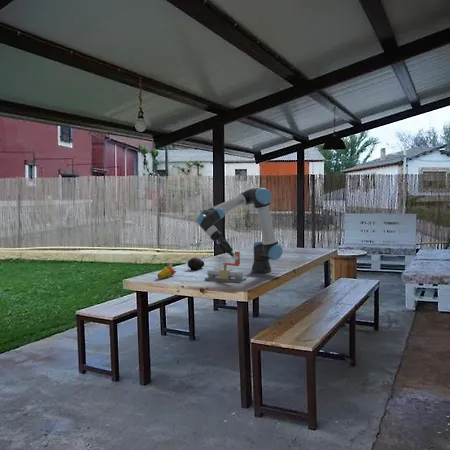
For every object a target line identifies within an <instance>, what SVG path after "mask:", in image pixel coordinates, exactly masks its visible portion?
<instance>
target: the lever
mask: <svg viewBox="0 0 450 450" xmlns="http://www.w3.org/2000/svg"><path fill="white" fill-rule="evenodd" d="M234 253H235V254H236V256H237V257H238V259H237V260H236V261H235V260H234V262H227V261H223V262H222V265H223V266H224V265H227V266H231V267H239V266H240V264H241V253H240V251H234Z"/></svg>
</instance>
